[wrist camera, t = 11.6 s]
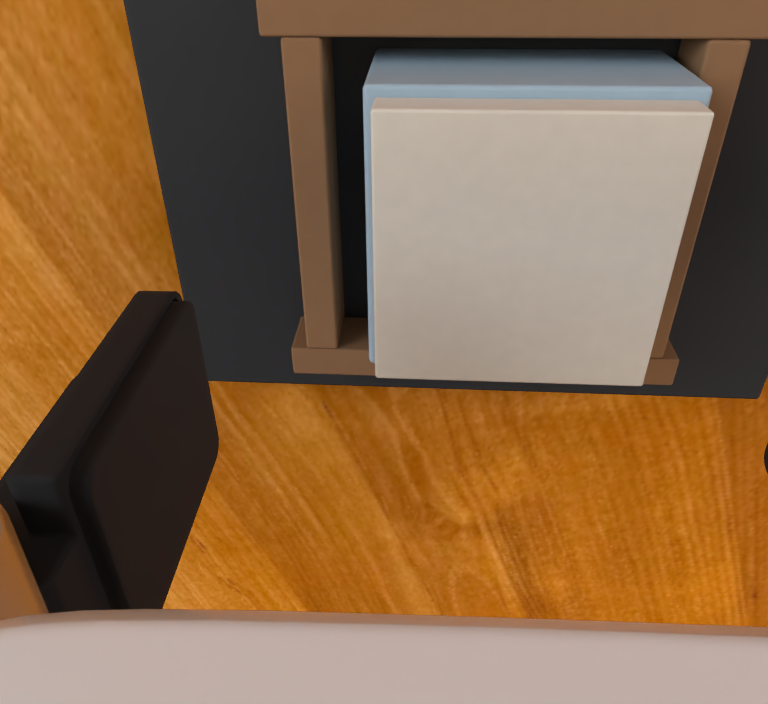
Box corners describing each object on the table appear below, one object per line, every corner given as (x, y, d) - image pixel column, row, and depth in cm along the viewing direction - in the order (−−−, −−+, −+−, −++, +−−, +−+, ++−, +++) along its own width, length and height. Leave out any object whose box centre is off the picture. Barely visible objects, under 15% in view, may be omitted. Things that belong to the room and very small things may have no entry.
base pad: (210, 358, 21) (182, 416, 19) (122, -115, 14) (60, -115, 12) (743, 374, 20) (783, 438, 18) (926, -121, 13) (1029, -121, 11)
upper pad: (378, 293, 18) (365, 386, 15) (375, 47, 14) (357, 96, 11) (610, 298, 17) (650, 395, 14) (663, 48, 14) (733, 99, 11)
